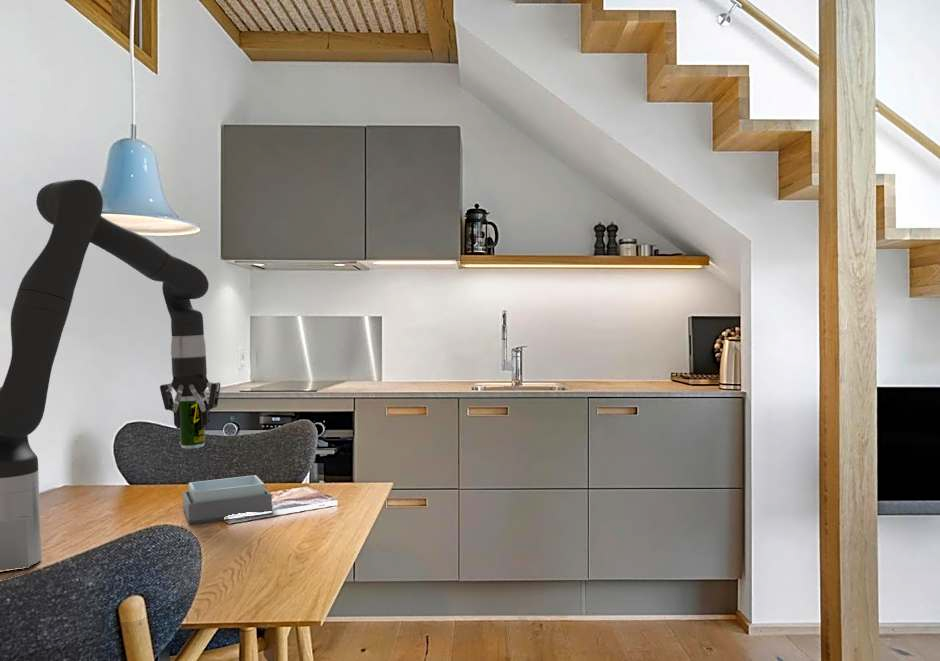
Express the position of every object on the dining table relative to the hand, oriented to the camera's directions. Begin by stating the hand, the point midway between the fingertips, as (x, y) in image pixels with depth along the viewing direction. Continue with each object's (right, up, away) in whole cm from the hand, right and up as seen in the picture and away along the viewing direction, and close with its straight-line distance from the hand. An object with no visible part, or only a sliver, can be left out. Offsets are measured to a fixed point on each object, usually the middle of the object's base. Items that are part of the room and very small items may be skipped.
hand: (192, 427), depth 175 cm
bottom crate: (+8, -20, +1) cm, 21 cm away
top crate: (+8, -20, +1) cm, 21 cm away
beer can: (0, -5, 0) cm, 5 cm away
